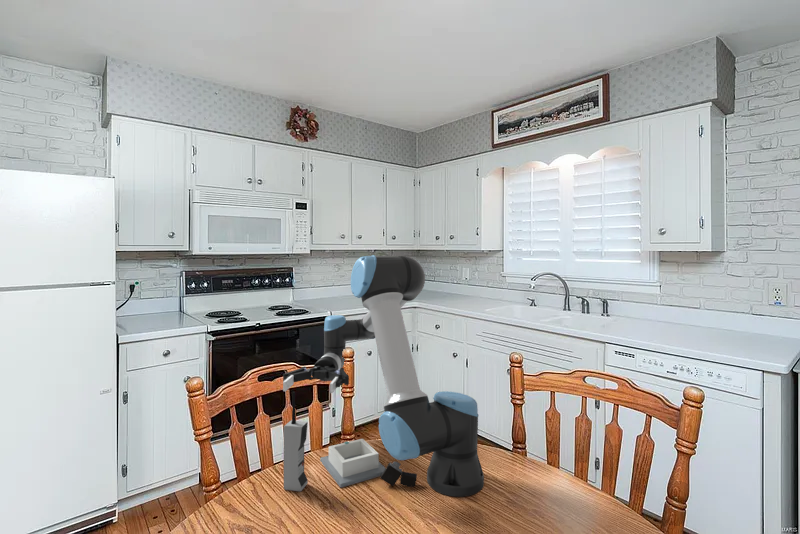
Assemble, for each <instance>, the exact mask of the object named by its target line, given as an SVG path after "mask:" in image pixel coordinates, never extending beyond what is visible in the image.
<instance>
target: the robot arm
mask: <svg viewBox="0 0 800 534" xmlns="http://www.w3.org/2000/svg"><path fill="white" fill-rule="evenodd" d="M350 274H351V275H350V289H351V292H352V294H353V296H354V297H355V298H357V299H361V303H362V306H363V308H366V310H368V311H367V312H366V314H365V315H364V316H363V317H362V318H361V319H360V318H359V319H347V320H346V315H339V314H337V315H336V314H333V315H327V316H326V317H325V319H324V326H323V327H324V328H323V334H324V335H323V336H324V337H323V338H324V339H323V341H324V343H323V344H324V346H323V349H324V350H323V355H322V356H321V357H320V358H319V359H318V360H317V361H316V362H315V363H314V365H313V367H310V368H307V366H302V367H300V368H297V369H294V370H292V371H288V372H285V373H283V374H282V391H283V392H287V391H288V390H289V389H290V388H292V386H293V385H295V384H294V383H298V382H302V381H306V380H309V381H313V380H319V381H322V382H329V394H333V393H334V392H335V391H336V390H337V388H340V387H341V386H343V384H344V385H346V386H348V385H349V384H350V376H349V375H348V373H347V372H346V371H345V368H343V367H344V366H345V365H344V361H345V359H344V357H343V358H342V351H343V349H345V350H346V346H347V345H346V342H353V341H362V340H375V342H376V347H377V352H378V357H379V362H380V367H381V371H382V376H383V381H384V386H385V389H386V394H387V395H386V397H387V399H386V401H385V402H384V403H383V409H384V411H383V413H382V414H381V415H380V416H379V418H378V423H379V424H378V432H379V436H380V439H381V442H382V444H383V446H384V448H385V450H386V451H387V452H388V454H389V455H390V456H391V457H392V458H394V459H395V460H397V461H406V460H410V459H411V460H413V459H417V458H418V457H420V456H425V455H428V454H431V453H432V454H431V458H430V462H429V465H428V466H427V471H426V482H427V484H428V485H429V487H430V488H431V489H432V490H434V491H435V492H437V493H440V494H441V495H444V496H449V497H454V498H455V497H461V498H463V497H470V496H473V495H475V494H477V493H479V492H481V490H482V489H483V488H484V486H485V485H484V484H485V475H484V471H483V468H482V464H481V462H480V461H481V460H480V458H479V454H478V434H479V433H478V431H479V427H478V426H479V414H478V413H479V412H478V411H479V409H478V408H479V407H478V403H477V401H476V399H474V398H473V397H472V396H469V395H467V394H464V393H461V392H456V391H447V390H445V391H438V392H436V393H435V394H434V395H433V397H432V399H433V401H431V402H430V400H429V397H428V394H427V393H425V392H424V391H422V389H421V387H420V384H419V379H418V375H417V371H416V368H415V363H414V358H413V354H412V349H411V347H410V346H411V345H410V342H409V338H408V335H407V333H408V332H407V329H406V326H405V321H404V317H403V313H402V308H403V307H404V306H405V305H406V304H407V303H408V302H412V301H414V300H415V299H416V298H417V297H418V296H419V295H420V293H422V291H423V289H424V287H425V282H426V275H425V270H424V269H423V266H422V265H421V264H420V262H419V261H417V260H416V259H415V258H412V257H411V256H406V255H398V256H397V255H374V254H372V255H365V256H360V257H359V258H358V259H356V261H355V263H354V265H353V266H352V270H351V273H350ZM343 365H344V366H343Z"/></svg>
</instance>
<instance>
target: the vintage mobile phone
mask: <svg viewBox="0 0 800 534" xmlns="http://www.w3.org/2000/svg"><path fill="white" fill-rule="evenodd" d="M308 425H309V424H308V421H304V420H297V419H296V392H295V391H292V409H291V420H290V421H288V422H287V423H286V424H285V425H284V426H283V490H285V491H294V492H302V491H303V490H304V488H305V487H306V486H307V485H308V482H309V481H308V477H307V475H306V472H305V443H306V441H307V435H308Z"/></svg>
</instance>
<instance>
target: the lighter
mask: <svg viewBox="0 0 800 534" xmlns="http://www.w3.org/2000/svg"><path fill="white" fill-rule="evenodd" d="M400 466H401V463H400V462H399V461H392V462H388V464H387V466H385V468H386V469H385V470H384V472H383V473H382V474H381V476H379V477H380V478H379V479H380V480H382V481H384V482H385V483H387V484H388V485H390V486H391V487H394V486H395V485H396V484H397V481H399V484H400V485H402V486H404V487H409V488H413V487H416V485H417V484H416V483H417V477H418V473H412V472H409V471H404V470H403V469H402V468H400ZM399 479H400V480H399Z"/></svg>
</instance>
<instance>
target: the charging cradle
mask: <svg viewBox="0 0 800 534" xmlns="http://www.w3.org/2000/svg"><path fill="white" fill-rule="evenodd" d="M379 455H380V454H379V452H378V451H376V449H374V447H372V445H370V444H369V443H368V442H367V441H366V440H365V438H359V439H355V440H350V441H345V442H342V443H338V444H334V445H329V446H328V455H326V456H322V457H320V459H319V462H320V463H321V462H322V463H321V464H322V466H323V467H324V468H325V469H326V470H327V472H328V473H329V474H330V476H331V477H332V478H333V480H334V482H335V483H336V484H337V485H338V487H339V488H344V487H347V486H353V485H354V484H358V483H361V482H365V481H368V480H371V479H375V478H379V477H381V474H382V473H383V472H384V470H385V469H386V466H385V465H383V464H382V463H381V462H380V461H379V457H380V456H379Z"/></svg>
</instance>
